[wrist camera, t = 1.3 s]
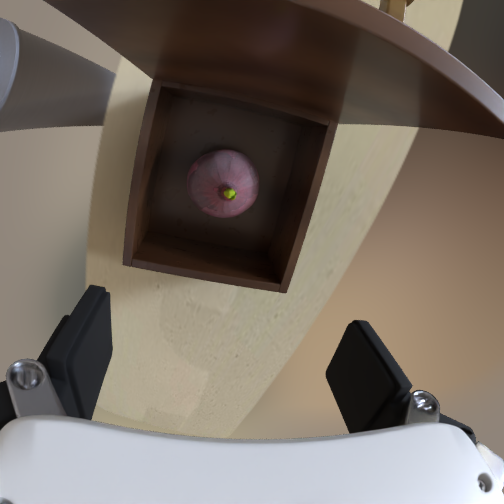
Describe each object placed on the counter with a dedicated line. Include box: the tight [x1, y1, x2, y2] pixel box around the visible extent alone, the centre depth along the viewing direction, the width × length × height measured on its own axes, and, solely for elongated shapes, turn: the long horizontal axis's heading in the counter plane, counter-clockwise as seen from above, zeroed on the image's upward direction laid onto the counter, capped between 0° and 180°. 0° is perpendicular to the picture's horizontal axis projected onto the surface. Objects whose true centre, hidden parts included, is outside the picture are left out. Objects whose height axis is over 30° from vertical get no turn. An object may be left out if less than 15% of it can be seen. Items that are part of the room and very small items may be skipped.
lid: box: [43, 0, 504, 139], centre depth 11 cm, size 16×15×5 cm
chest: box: [123, 79, 338, 293], centre depth 26 cm, size 16×15×8 cm
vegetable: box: [187, 149, 259, 218], centre depth 24 cm, size 6×6×10 cm
